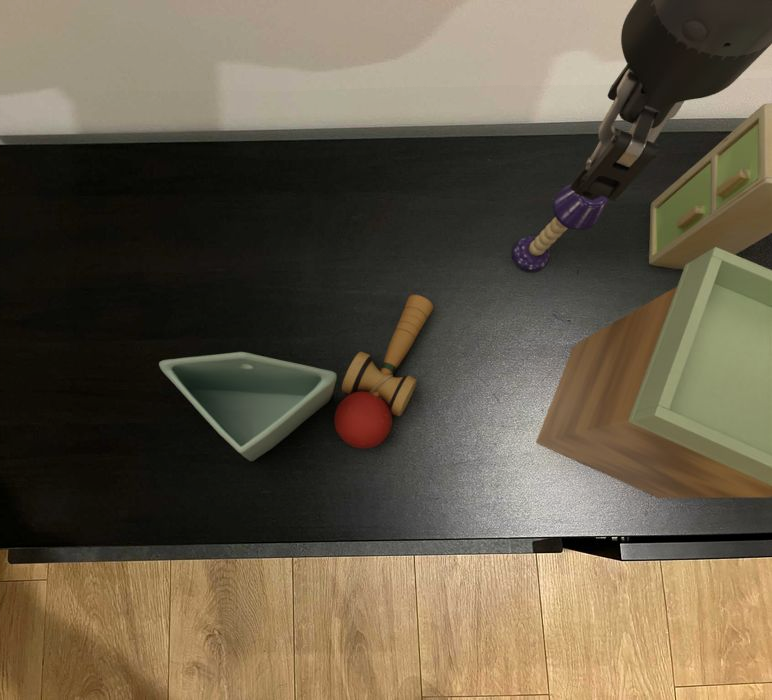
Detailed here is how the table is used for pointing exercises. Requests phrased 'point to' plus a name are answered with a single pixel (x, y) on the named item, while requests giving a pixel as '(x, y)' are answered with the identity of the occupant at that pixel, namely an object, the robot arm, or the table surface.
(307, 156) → the table surface
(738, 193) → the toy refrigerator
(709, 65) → the robot arm
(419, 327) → the kendama
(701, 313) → the box
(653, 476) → the stand
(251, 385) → the planter
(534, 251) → the toy lamp
